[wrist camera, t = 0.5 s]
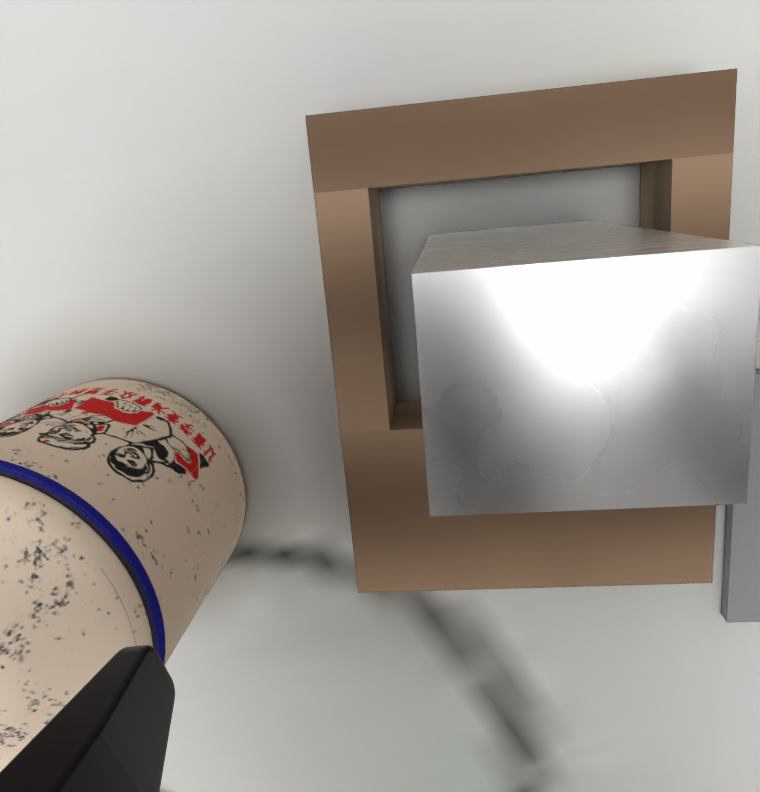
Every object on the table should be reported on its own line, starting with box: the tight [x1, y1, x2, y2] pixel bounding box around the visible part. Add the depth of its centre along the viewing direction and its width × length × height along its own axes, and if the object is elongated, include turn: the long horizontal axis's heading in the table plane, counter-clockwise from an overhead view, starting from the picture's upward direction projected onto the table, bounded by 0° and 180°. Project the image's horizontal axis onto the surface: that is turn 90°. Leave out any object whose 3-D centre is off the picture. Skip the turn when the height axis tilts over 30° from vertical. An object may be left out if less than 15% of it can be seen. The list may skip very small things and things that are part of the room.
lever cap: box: [411, 220, 760, 517], centre depth 16 cm, size 4×5×12 cm
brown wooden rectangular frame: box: [305, 69, 737, 593], centre depth 21 cm, size 14×11×3 cm
